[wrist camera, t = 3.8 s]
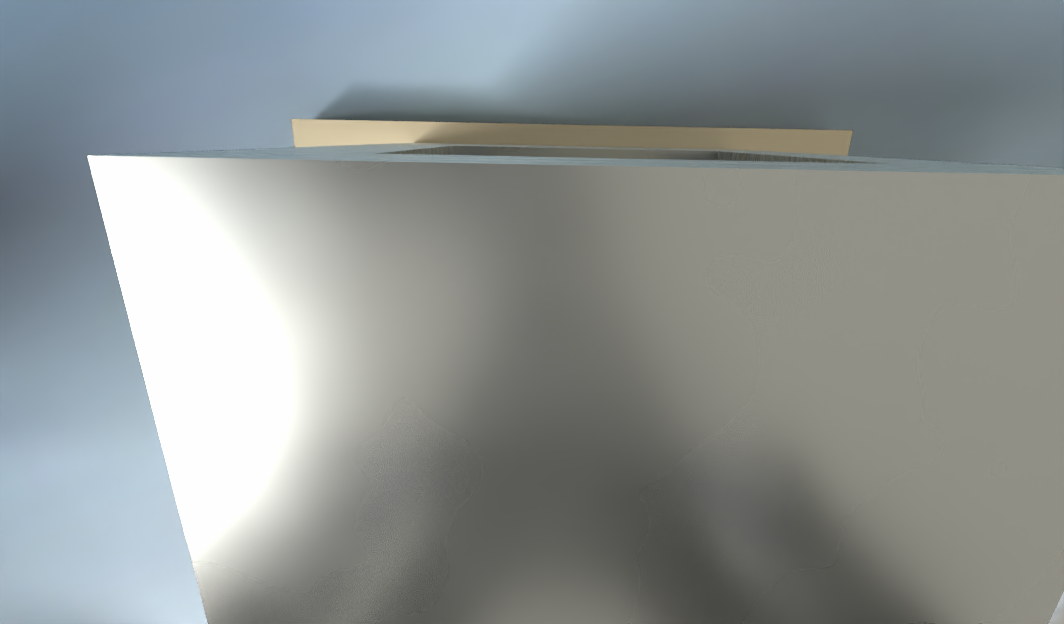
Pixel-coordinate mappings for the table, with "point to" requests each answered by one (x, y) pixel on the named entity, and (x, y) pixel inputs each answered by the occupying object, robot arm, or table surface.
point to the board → (568, 135)
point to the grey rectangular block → (601, 382)
